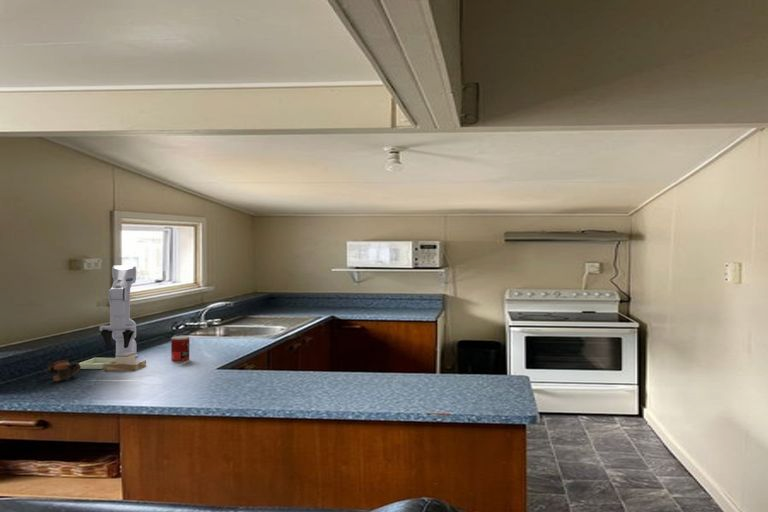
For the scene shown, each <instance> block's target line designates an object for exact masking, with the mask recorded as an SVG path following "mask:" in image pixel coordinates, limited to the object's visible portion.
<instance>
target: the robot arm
mask: <svg viewBox="0 0 768 512" xmlns="http://www.w3.org/2000/svg"><path fill="white" fill-rule="evenodd" d="M111 276H112V279H113V282H112V285H111V288H110V289H108V295H107V296H108V305H109V325H100V326H99V331H100V335H101V336H102V338H103V340H104V343H105V346H106V349H109V348H111V347H112V339H113V340H114V341H115V358H117V357H116V355H119V354H122V353H125V352H136V354H135V358H137V357H139V355H138V354H137V341H136V340H135V339H136V337H137V323H136V322H135V321H134V320H133V319H131V318H130V317H131V314H130V313H131V289H132V285H134V284H135V283H136V281H137V266H136V265H113V266H112V268H111Z"/></svg>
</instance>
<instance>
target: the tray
mask: <svg viewBox="0 0 768 512" xmlns="http://www.w3.org/2000/svg"><path fill="white" fill-rule="evenodd" d="M115 360H117V358H116V357H93V358H91V359H87V360H84V361H81V362H78V363H79V364H80V366H81V367H80V370H103V369H105V364H107V363H110V362H112V361H115Z"/></svg>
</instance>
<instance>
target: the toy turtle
mask: <svg viewBox="0 0 768 512" xmlns="http://www.w3.org/2000/svg"><path fill="white" fill-rule="evenodd" d="M69 362H70V361H69V360H57V361H55V362H54V361H53V362H52V363H51V362H50V363H49V364H48V365H46V367H47V369H46V371H45V374H47V373H48V374H55V375H54V376H52V379H53V381H56V382H59V381H63V380H64V381H66V380H70V379H71V377H74V376H75V374H77V373H78V372H80V370H81V369H80V367H81V366H80V364H79V363H80V362H73V363H69Z"/></svg>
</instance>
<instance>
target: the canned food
mask: <svg viewBox="0 0 768 512" xmlns="http://www.w3.org/2000/svg"><path fill="white" fill-rule="evenodd" d="M170 339H171V343H170V344H171V345H170V346H171V348H170V349H171V350H170V351H171V352H170V354H171V355H170V356H171V357H170V359H171V361H172V362H187V360H188V361H189V360H190V336H189V335H175V336H172V337H171V338H170Z"/></svg>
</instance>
